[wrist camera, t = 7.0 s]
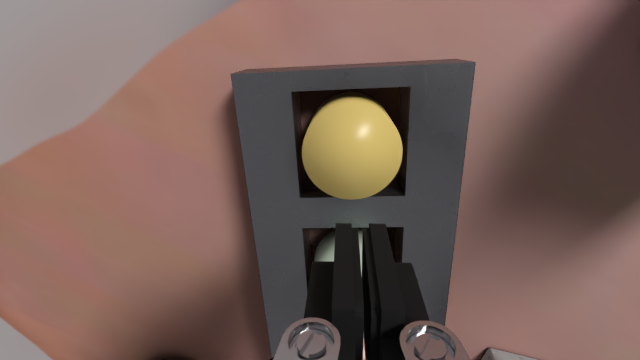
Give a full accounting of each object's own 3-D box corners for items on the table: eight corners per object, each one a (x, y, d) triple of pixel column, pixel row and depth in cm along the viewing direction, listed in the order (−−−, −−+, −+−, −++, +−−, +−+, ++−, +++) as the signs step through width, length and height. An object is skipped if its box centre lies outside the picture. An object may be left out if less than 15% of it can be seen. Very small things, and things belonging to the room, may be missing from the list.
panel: (456, 58, 19) (475, 62, 16) (426, 365, 28) (435, 401, 25) (246, 69, 20) (230, 73, 17) (283, 362, 29) (277, 397, 26)
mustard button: (392, 90, 19) (404, 101, 16) (390, 171, 21) (400, 198, 18) (306, 93, 20) (298, 105, 16) (311, 173, 22) (305, 200, 18)
